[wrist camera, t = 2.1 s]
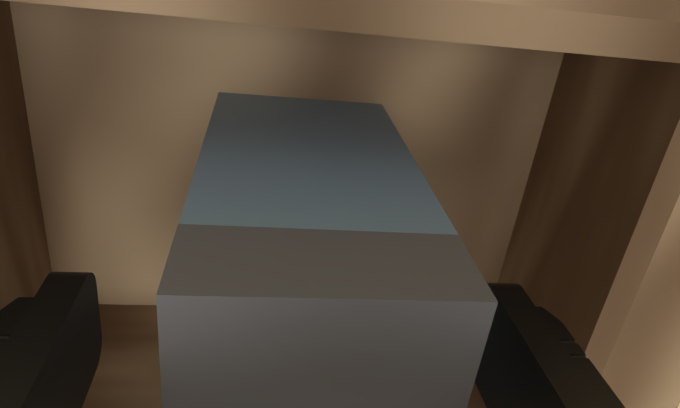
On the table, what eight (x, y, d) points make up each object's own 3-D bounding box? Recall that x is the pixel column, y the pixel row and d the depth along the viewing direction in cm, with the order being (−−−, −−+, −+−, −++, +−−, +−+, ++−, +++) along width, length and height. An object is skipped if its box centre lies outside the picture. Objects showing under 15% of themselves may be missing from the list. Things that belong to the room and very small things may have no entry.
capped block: (381, 104, 17) (498, 301, 8) (361, 241, 19) (436, 511, 11) (218, 92, 16) (155, 295, 8) (217, 235, 19) (168, 521, 10)
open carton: (728, -106, 16) (959, -118, 10) (547, 375, 24) (625, 504, 19) (-200, -240, 12) (-556, -360, 7) (-34, 375, 21) (-139, 532, 15)
